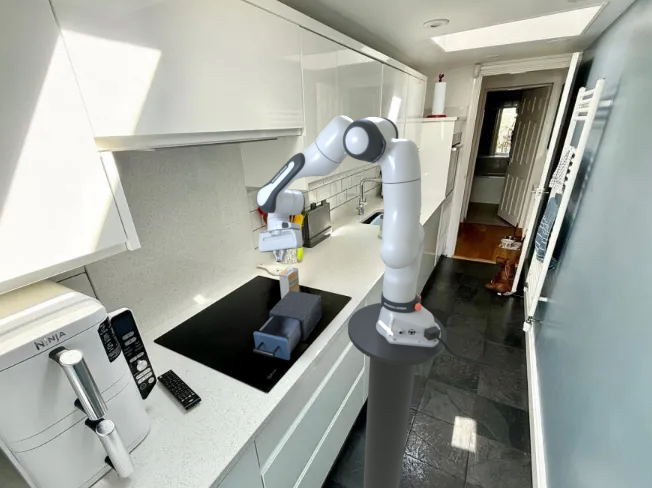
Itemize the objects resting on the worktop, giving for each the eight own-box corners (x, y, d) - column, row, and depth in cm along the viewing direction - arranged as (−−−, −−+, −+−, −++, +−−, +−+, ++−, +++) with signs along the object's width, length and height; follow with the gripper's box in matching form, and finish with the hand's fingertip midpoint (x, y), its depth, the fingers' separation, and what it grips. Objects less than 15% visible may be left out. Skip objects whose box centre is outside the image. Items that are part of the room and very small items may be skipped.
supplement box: (290, 302, 134) (287, 275, 128) (281, 300, 136) (278, 273, 130) (300, 293, 140) (298, 268, 134) (291, 291, 142) (289, 266, 137)
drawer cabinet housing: (305, 341, 110) (303, 319, 106) (271, 333, 115) (269, 312, 110) (321, 316, 124) (321, 295, 119) (291, 310, 128) (289, 290, 124)
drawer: (281, 370, 96) (279, 351, 93) (248, 361, 100) (244, 342, 97) (307, 332, 113) (306, 314, 109) (278, 325, 117) (276, 308, 114)
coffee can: (387, 233, 210) (388, 213, 204) (398, 237, 202) (399, 216, 196) (375, 236, 205) (376, 215, 199) (386, 240, 197) (387, 219, 191)
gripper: (254, 229, 125) (255, 263, 125) (294, 222, 114) (295, 259, 114) (264, 231, 131) (266, 263, 130) (303, 224, 120) (305, 259, 119)
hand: (280, 261), depth 122 cm, fingers closed
